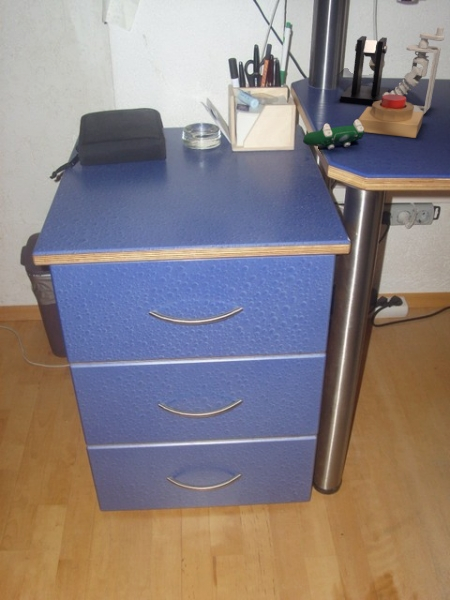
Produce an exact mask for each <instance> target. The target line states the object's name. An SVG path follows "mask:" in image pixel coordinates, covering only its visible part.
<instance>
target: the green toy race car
mask: <svg viewBox="0 0 450 600" xmlns="http://www.w3.org/2000/svg"><path fill="white" fill-rule="evenodd" d="M358 119H359V118H358ZM358 119H355V120H354V122H352V124H350V125H342V126H335V127H331V126H330V124H329V123H325V124H323V127H322V128H321V129H320V130H315V131H310V132H307V133H306V134H305V135H304V137H303V139H302V142H303V143H304V144H305V145H307V146H311V147H323V146H324V147H325V148H327V149H328V150H333V149H334V148H335V145H337V144H341V146H343V147H344V148H348V147H350V146H351V143H352V142H355V141H356V142H357V141H358V140H361V139H362V138H364V133H365V132H364V128H363V126H362V124H361V122H360V121H359V120H358Z"/></svg>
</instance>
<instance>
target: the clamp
mask: <svg viewBox="0 0 450 600" xmlns="http://www.w3.org/2000/svg"><path fill="white" fill-rule="evenodd" d="M444 29H445V28H444V26H438V27H437V28H436V33H430V32H421V33H420V34H419V38H420V41H419V42H418V44H410V45H407V46H406V51H410V52H414V55H415V57H414V58H413V59H412V65H411V69H410V71H409V72H407V73H406V74H405V75H404V77H403V79H402V81H399V83H398V86H395V88H394V90H391V91H389V93H388V92H385V93H384V94H383V96H384V95H388V94H396V95H402V96H405V95H408V91H412V87H417V86H418V84H419V83H420V80H421V79H422V78H425V77H426V76H427V73H428V67H429V62H430V59H428V58H429V55H427V54H428V53H429V54H433V57H432V62H431V68H430V73H429V78H428V85H427V91H426V96H425V101H424V106H423V105H416V104H415V105H414V104H413V105H414V110H413V111H414V112H423V113H424V114H423V115H425V114H426V113H427V112H428V110H429V109H430V108H431V105H432V98H433V94H434V88H435V82H436V77H437V71H438V67H439V62H440V61H439V60H440V55H441V47H440V46H433V45H429V41H436V42H442V41H444V40H445V35H443V34H444ZM418 65H421V66H422V67H420V66H418Z"/></svg>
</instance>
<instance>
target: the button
mask: <svg viewBox="0 0 450 600" xmlns="http://www.w3.org/2000/svg"><path fill="white" fill-rule="evenodd" d="M406 102H407V97H406V96H405V95H403V96H402V95H396V94H388V95H384V96H383V97H382V103H381V106H382V107H385V108H390V109H402V108H405V103H406Z"/></svg>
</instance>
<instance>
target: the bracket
mask: <svg viewBox="0 0 450 600" xmlns="http://www.w3.org/2000/svg"><path fill="white" fill-rule="evenodd" d="M366 40H367V35H361V36H360V37H359V38H358V39H356V44H355V47H354V51H355V57H354V64H353V75H352V82H351V84H350V86H349V87H347V89H346V90H345V91H344V92H343V93H342V94H341V95H340V99H339V103H344V104H353V105H363V106H372V104H373V103H374V102H376V101H380V100H382V97H383V94H384V93H385V92H388V93H390V87H382V78H383V71H384V67H383V64H384V61H385V57H386V54H387V51H388V45H387V43H388V42H387V41H388V37H381V38H380V39H379V40H377V42H378V45H377V53H376V61H375V69H374V71H373V77H372V84H371V85H362V80H363V71H364V64H365V55H364V47H365V41H366Z"/></svg>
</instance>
